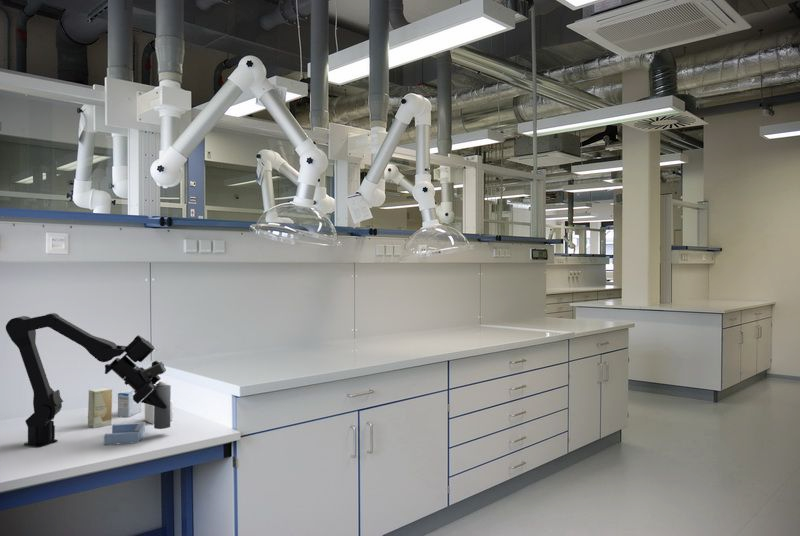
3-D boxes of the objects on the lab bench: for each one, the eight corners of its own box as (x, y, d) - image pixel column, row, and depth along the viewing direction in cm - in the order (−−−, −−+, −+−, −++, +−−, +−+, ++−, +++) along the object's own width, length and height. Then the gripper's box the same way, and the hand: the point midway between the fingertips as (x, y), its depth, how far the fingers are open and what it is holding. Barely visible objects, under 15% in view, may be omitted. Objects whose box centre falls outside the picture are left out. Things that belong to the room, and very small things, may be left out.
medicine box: (130, 411, 220) (130, 388, 220) (141, 412, 219) (141, 388, 219) (117, 417, 212) (117, 392, 212) (128, 417, 212) (128, 393, 211)
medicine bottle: (164, 416, 212) (164, 383, 212) (173, 420, 207) (173, 386, 207) (144, 420, 207) (144, 386, 207) (152, 424, 202) (152, 389, 202)
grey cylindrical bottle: (162, 429, 186) (163, 384, 186) (150, 428, 188) (151, 383, 188) (173, 425, 191) (173, 381, 191) (161, 424, 192) (161, 380, 192)
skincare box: (93, 428, 197) (93, 391, 197) (87, 426, 200) (87, 390, 200) (112, 424, 202) (112, 388, 202) (106, 422, 205) (106, 387, 205)
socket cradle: (104, 444, 179) (104, 434, 179) (113, 433, 191) (113, 423, 191) (138, 442, 182) (138, 431, 182) (144, 431, 194) (144, 421, 194)
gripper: (145, 358, 179) (183, 393, 182) (153, 350, 197) (188, 381, 200) (116, 385, 177) (155, 420, 180) (128, 374, 195) (163, 406, 198)
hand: (167, 405), depth 189 cm, fingers closed on grey cylindrical bottle, 5 cm apart
